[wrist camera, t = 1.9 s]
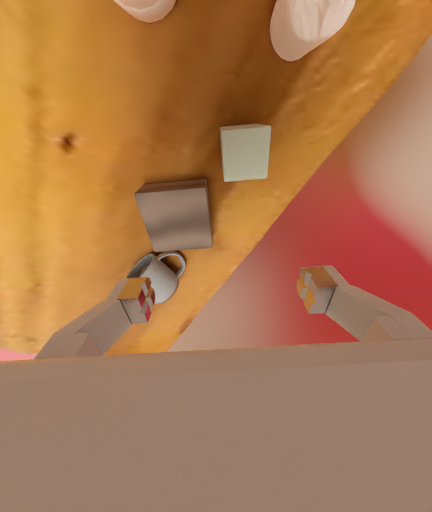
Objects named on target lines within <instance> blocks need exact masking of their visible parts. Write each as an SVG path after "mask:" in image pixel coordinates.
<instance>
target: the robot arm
mask: <svg viewBox="0 0 432 512" xmlns="http://www.w3.org/2000/svg"><path fill="white" fill-rule="evenodd" d="M299 274H300V276H301V277H300V278H299V279H298V280H297V291H298V294H299V296H300V297H301V298H302V299H304V306H305V307H306V309H307V311H308V313H309V314H310V313H326V314H327V315H328V316H329V317H330V318H332V319H333V320H334V321H336V322H337V323H338V324H339V325H341V326H342V327H343V328H344V329H346V330H347V331H348V332H350V333H351V334H352V335H353V336H355V337H356V338H357V339H358V340H360V341H361V342H343V343H325V344H307V345H289V346H271V347H255V348H254V347H253V348H234V349H215V350H197V351H180V352H160V353H142V354H124V355H105V356H104V354H105V353H106V352H107V351H108V350H109V349H110V348H111V346H112V345H113V344H114V343H115V342H116V341H117V340H118V339H119V338H120V337H121V336H122V335H123V334H124V333H125V332H126V331H127V330H128V329H129V328H130V326H131V325H132V324H140V323H148V321H149V318H150V315H151V310H150V309H151V308H152V307H153V306H154V303H155V291H154V289H153V288H152V287H151V283H152V282H151V280H150V278H149V277H140V278H121V279H119V280H118V282H117V283H116V285H115V287H114V288H113V290H112V291H111V293H110V295H109V296H108V298H107V299H106V301H102V302H100V303H99V304H97V305H96V306H94V307H93V308H91V309H90V310H88V311H87V312H85V313H84V314H82V315H81V316H79V317H78V318H76V319H75V320H73V321H72V322H70V323H69V324H67V325H66V326H64V327H63V328H61V329H60V330H58V331H57V332H55V333H54V334H53V335H52V337H51V338H50V339H49V340H48V342H47V343H46V344H45V346H44V347H43V348H42V349H41V351H40V352H39V353H38V355H37V356H36V357H35V358H34V359H32V360H14V361H0V512H432V331H431V330H430V329H429V328H427V327H426V326H425V325H424V324H423V323H422V322H421V321H420V320H419V319H417V318H416V317H415V316H414V315H413V314H412V313H410V312H408V311H406V310H404V309H402V308H399V307H397V306H395V305H393V304H391V303H389V302H387V301H384V300H383V299H381V298H378V297H376V296H374V295H372V294H370V293H368V292H366V291H364V290H362V289H359V288H357V287H355V286H350V285H349V284H348V283H347V281H346V280H345V279H344V278H343V277H342V276H341V275H340V274H339V273H338V272H337V270H336V269H334V267H333V266H331V265H329V266H320V267H305V268H301V269H300V272H299Z"/></svg>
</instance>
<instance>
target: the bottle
mask: <svg viewBox="0 0 432 512" xmlns="http://www.w3.org/2000/svg"><path fill="white" fill-rule="evenodd" d="M114 1H115V2H116V3H117V4H118V5H119V6H120V7H122V8H123V10H125V11H126V12H127V13H128V14H130V15H131V16H132V17H134V18H135V19H136V20H139V21H143V22H147V23H152V22H155V21H159V20H162V19H163V18H164V17H165V16H166V15H167V14H168V13H169V12H170V11H171V10H172V9H173V6H174V4H175V2H176V0H114Z"/></svg>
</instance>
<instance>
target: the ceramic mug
mask: <svg viewBox="0 0 432 512" xmlns="http://www.w3.org/2000/svg"><path fill="white" fill-rule="evenodd" d="M168 255H177V257H178V258H179V259H180V262H181V263H182V267H181V268H180V270H179V271H178V272H177V273H176V274H175V273H174V272H173V271H172V270H171V269H169V268H168V267H167V266H166V265H165V264H164V263H163V262H162V261H161V260H160V259H161V258H163V257H165V256H168ZM184 270H185V261H184V259H183V257H182V256H181V254H179V253H178V252H176V251H166V252H164V253H162V254H160V255H158V256H155V255H154V254H148V255H146V256H144V257H143V258H142V259H141V260H140V261H138V263H137V264H136V265H135V266H134V267H133V268H132V269H131V271H130V272H129V274H128V276H127V278H140V277H149V278H150V280H151V282H152V283H151V287H152V288H153V289H154V291H155V303H157V304H162V303H165V302H167V301H168V300H169V299H170V298H171V297H172V296H173V295H174V294H175V292H176V291H177V288H178V285H179V279H178V277H179V276H180V275H181V274H182V273H183V272H184Z"/></svg>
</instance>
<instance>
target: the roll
mask: <svg viewBox="0 0 432 512" xmlns="http://www.w3.org/2000/svg"><path fill="white" fill-rule="evenodd" d="M355 1H356V0H277V1H276V4H275V7H274V10H273V13H272V17H271V21H270V37H271V42H272V45H273V48H274V50H275V51H276V53H277V54H278V55H279V57H281V58H282V59H284V60H286V61H295V60H298V59H300V58H301V57H303V56H304V55H305V54H307V53H308V52H309V51H311V50H313V49H314V48H316V47H317V46H318V45H320V44H322V43H323V42H325V41H326V40H327V39H329V38H330V37H332V36H333V35H334V34H335V33H336V32H337V31H338V30H340V29H341V28H342V26H343V25H344V24H345V22H346V21H347V19H348V17H349V15H350V13H351V11H352V9H353V7H354V5H355Z"/></svg>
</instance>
